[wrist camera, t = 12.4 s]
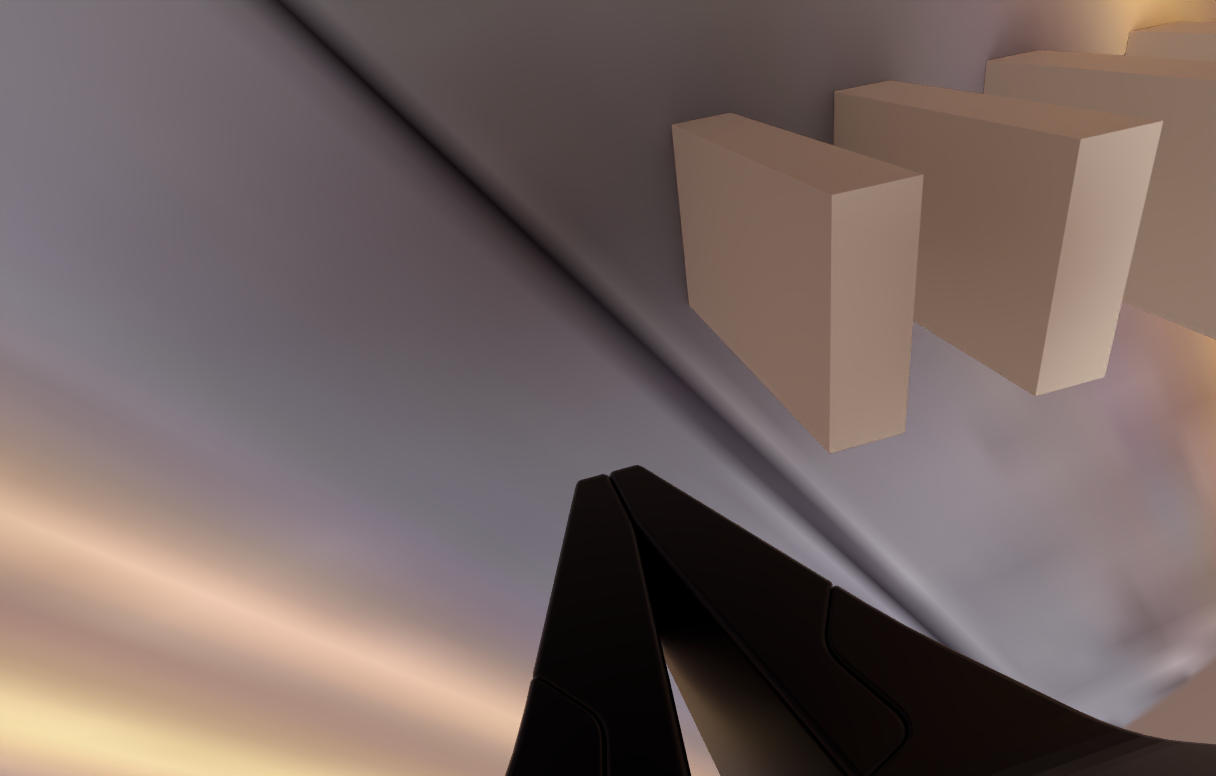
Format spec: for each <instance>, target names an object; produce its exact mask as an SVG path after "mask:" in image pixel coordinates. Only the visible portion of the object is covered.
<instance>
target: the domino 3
mask: <svg viewBox="0 0 1216 776" xmlns="http://www.w3.org/2000/svg"><path fill="white" fill-rule="evenodd" d="M983 94H986V95H993V96H1000V97H1007V98H1013V99H1020V100H1027V101H1034V102H1040V103H1047V104H1054V105H1061V106H1067V107H1074V108H1081V109H1088V110H1095V111H1101V112H1108V113H1115V114H1122V115H1128V116H1135V117H1142V118H1149V119H1155V120H1162V121H1163V125H1162V129H1161V134H1160V138H1159V142H1158V147H1157V151H1156V155H1155V160H1154V164H1153V168H1152V173H1151V177H1150V181H1149V186H1148V190H1147V194H1146V199H1145V203H1144V208H1143V212H1142V216H1141V221H1140V225H1139V229H1138V234H1137V238H1136V242H1135V247H1134V251H1133V255H1132V260H1131V264H1130V268H1129V273H1128V277H1127V281H1126V286H1125V290H1124V295H1123V299H1122V302H1125V303H1127V304H1130V305H1132V306H1135V307H1137V308H1140V309H1142V310H1144V311H1147V312H1149V313H1152V314H1154V315H1157V316H1159V317H1162V318H1164V319H1166V320H1169V321H1171V322H1174V323H1176V324H1179V325H1181V326H1184V327H1186V328H1188V329H1191V330H1193V331H1196V332H1198V333H1201V334H1203V335H1205V336H1208V337H1210V338H1213V339H1215V340H1216V61H1203V60H1187V59H1171V58H1156V57H1140V56H1125V55H1109V54H1093V53H1078V52H1062V51H1047V50H1036V51H1031V52H1026V53H1022V54H1017V55H1012V56H1007V57H1002V58H997V59H992V60H987V64H986V74H985V83H984V92H983Z"/></svg>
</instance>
